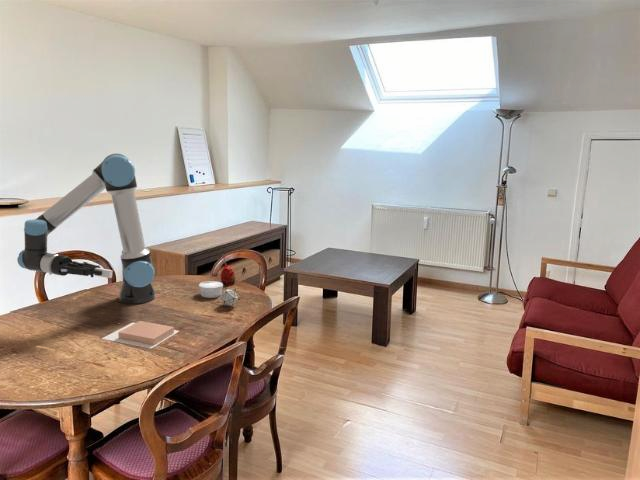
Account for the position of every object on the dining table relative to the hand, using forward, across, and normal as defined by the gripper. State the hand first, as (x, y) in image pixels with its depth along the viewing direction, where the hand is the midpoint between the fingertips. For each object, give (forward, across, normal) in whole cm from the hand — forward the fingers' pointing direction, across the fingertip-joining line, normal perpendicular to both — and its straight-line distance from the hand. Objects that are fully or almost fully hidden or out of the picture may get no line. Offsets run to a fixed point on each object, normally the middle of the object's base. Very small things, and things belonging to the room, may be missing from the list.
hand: (111, 274), depth 182 cm
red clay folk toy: (+16, -71, -15) cm, 74 cm away
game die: (+30, -41, -17) cm, 54 cm away
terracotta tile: (+9, 0, -20) cm, 22 cm away
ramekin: (+16, -52, -17) cm, 57 cm away
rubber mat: (+14, 0, -21) cm, 26 cm away
